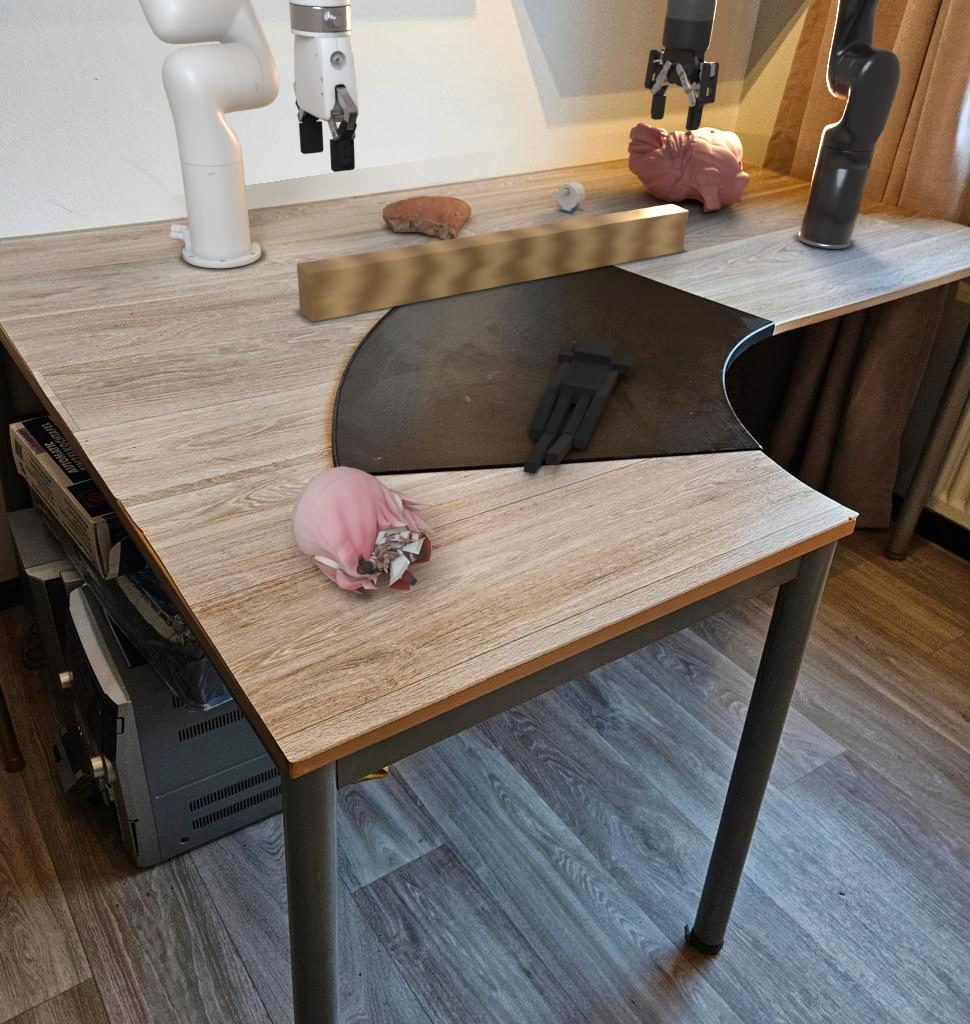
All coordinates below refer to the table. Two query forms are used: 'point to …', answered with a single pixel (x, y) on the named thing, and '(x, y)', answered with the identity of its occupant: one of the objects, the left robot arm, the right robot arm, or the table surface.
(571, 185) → the electric motor
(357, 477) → the pink rounded lump
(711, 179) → the fabric sculpture
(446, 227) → the ceramic shard
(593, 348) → the toy
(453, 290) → the bar
